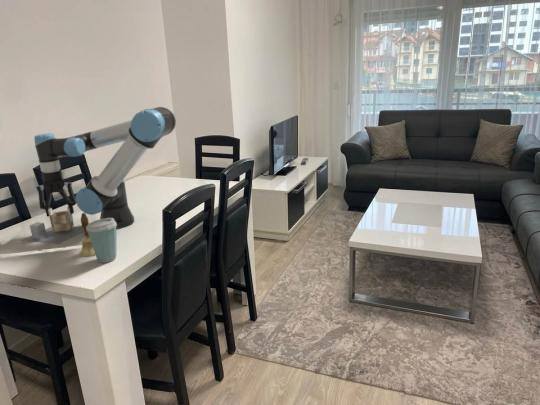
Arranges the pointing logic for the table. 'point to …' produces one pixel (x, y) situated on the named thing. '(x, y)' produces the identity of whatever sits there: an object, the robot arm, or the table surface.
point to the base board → (57, 235)
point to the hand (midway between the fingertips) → (62, 221)
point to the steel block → (38, 231)
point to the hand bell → (86, 239)
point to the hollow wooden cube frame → (61, 221)
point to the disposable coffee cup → (103, 238)
